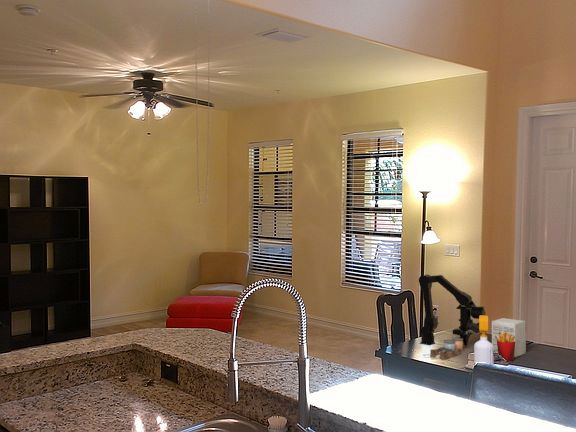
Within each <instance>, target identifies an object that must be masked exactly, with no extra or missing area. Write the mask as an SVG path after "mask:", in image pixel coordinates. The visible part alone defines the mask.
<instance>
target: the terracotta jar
mask: <svg viewBox="0 0 576 432" xmlns="http://www.w3.org/2000/svg"><path fill="white" fill-rule="evenodd" d="M451 340H455V350H456V349H459V348H461V353H463V352H464V349H463V348H464V344H463V338H461V337H460V336H453V337H451Z"/></svg>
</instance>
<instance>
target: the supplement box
mask: <svg viewBox="0 0 576 432" xmlns="http://www.w3.org/2000/svg"><path fill="white" fill-rule="evenodd" d="M499 331H501V336H502V334H504V333H505V332H507V333H508V334H509V337H510V334H512V336H511V338H512V337H513V336H515V339H514V342H515V350H514V358H518V357H519V356H522V355H524V354H526V353H527V351H526V349H527V348H526V344H527V343H526V341H527V339H526V337H527V336H526V333H527V332H526V320H521V319H520V320H519V319H513V318H504V317H502V318H498V319H495V320H491V343H492V344H493V351H495V352H498V348H497V341H498V340H497V339H496V338H495V335H496V336H497V338H498V339H499V340H500V338H499ZM507 338H508V336H506V339H507Z"/></svg>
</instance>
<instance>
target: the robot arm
mask: <svg viewBox="0 0 576 432" xmlns="http://www.w3.org/2000/svg"><path fill="white" fill-rule="evenodd" d="M433 283H438V284H439V285H441V286H442V287H443V288H444V289H445V290H447V292H449V293H450V294H451V295H452V296H453V297H454V298H455V299H456V302H458V304H459V305H458V306H457V307H455V308H456V310H459V319H458V321H459V322H460V324H459V326H458V328H454V329H453V330H452V335H453V336H454V335H456V336H458V337H461V338H463V346H465V347H467V345H468V344H469V339H470V337H471V336H472V335H473V334H474V333H475V334H477V333H481V331H479V322H474V320H473V319H476V320H477V319H478V320H479V316H480V315H484V316H486V311H485V306H477V305H476V304H475V302H474V301H473V297H472V296H471V295H470V294H469V293H467V292H464V291H462V290H460V289H459V288H458V287H457V286H455V285H454V284H453V283H451V282H450V281H449V280H448V279H446V278H445V277H444V275H442V274H439V275H430V274H424V275H421V276H419V278H418V284H419V286H420V289H421V290H422V297H423V305H424V306H423V307H424V314H425V316H424V319H423V320H424V321H423V326H422V327H421V328H420V330H419V333H420V336H421V337H420V339H421V341H420V342H419V344H423V345H427V346H431V345H434V344H436V342H435V336H434V335H435V334H434V332H435V330H437V328H438V325H439V322H438V319H439V318H438V317H435V315H434V307H433V306H434V305H433V298H432V291H431V290H432V287H433Z"/></svg>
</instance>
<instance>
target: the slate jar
mask: <svg viewBox="0 0 576 432" xmlns="http://www.w3.org/2000/svg"><path fill="white" fill-rule="evenodd" d="M443 343H444V344H443V345H444V346H443V347H444V348H449V349H452V351H453V350H455V340H452V339H444V340H443Z"/></svg>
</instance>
